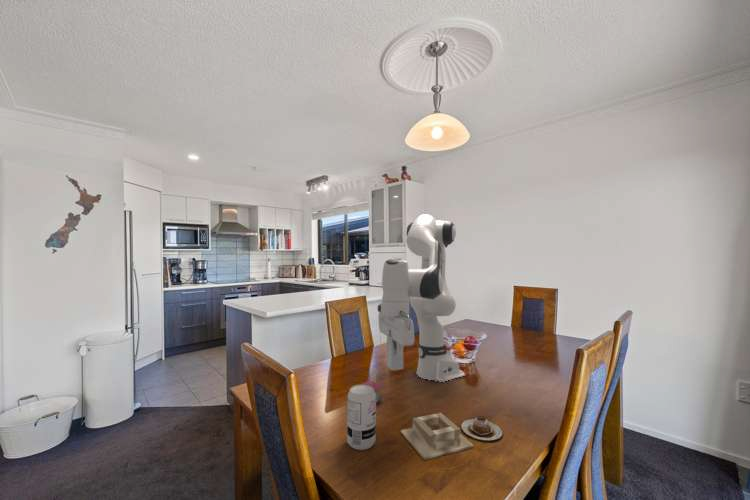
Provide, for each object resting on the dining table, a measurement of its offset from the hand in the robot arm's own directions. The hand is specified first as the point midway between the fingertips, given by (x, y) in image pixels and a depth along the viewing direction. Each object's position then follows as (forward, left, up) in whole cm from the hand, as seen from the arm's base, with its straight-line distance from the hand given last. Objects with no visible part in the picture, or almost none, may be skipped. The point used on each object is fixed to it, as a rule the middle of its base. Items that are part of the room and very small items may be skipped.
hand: (395, 353), depth 96 cm
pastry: (-24, +11, -24) cm, 36 cm away
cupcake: (+1, -20, -23) cm, 31 cm away
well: (-8, +10, -23) cm, 27 cm away
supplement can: (+13, +4, -23) cm, 27 cm away
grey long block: (0, 0, -5) cm, 5 cm away
